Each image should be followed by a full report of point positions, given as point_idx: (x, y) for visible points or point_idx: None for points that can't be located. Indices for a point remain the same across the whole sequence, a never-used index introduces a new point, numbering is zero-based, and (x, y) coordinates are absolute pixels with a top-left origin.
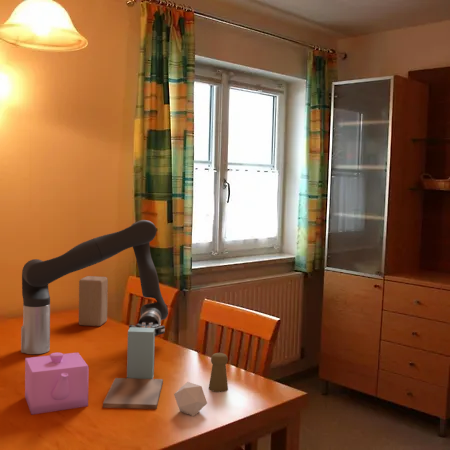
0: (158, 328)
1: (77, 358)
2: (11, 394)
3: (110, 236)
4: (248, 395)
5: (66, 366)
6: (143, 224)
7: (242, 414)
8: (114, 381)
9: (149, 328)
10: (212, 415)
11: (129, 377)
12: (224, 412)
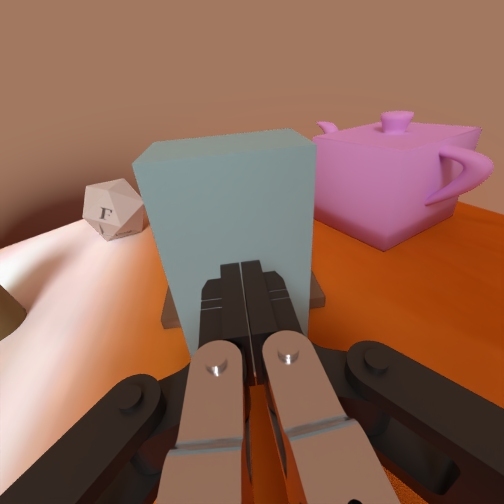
0: (21, 484)
1: (366, 141)
2: (492, 217)
3: None
4: None
5: (352, 130)
6: None
7: (29, 242)
8: (312, 277)
9: (174, 155)
10: (87, 232)
11: None
12: (59, 241)
